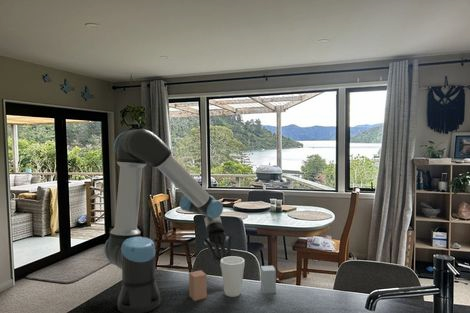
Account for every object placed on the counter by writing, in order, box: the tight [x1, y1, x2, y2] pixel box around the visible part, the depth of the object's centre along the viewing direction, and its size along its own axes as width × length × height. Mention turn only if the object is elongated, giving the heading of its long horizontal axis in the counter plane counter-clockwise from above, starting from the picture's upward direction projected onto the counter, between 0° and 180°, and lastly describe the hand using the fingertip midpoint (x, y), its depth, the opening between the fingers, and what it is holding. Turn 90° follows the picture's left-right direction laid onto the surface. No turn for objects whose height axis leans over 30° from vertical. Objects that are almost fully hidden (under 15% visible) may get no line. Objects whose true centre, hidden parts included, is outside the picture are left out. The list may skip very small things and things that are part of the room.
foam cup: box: [220, 255, 246, 298], centre depth 128 cm, size 10×9×13 cm
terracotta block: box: [188, 269, 208, 302], centre depth 125 cm, size 5×5×9 cm
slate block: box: [260, 265, 277, 294], centre depth 130 cm, size 5×5×9 cm
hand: (226, 274), depth 135 cm, fingers closed
